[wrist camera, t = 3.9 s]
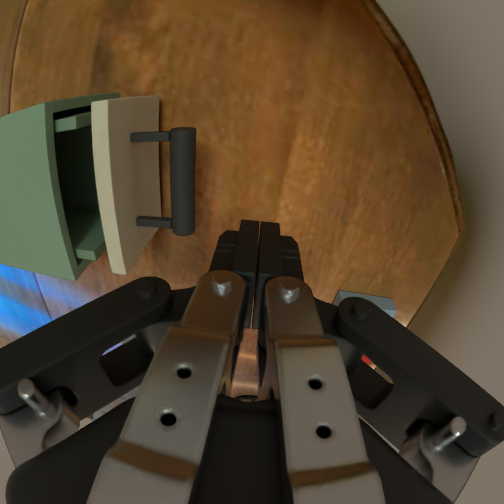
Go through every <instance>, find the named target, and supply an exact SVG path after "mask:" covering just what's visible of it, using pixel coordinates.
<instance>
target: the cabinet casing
mask: <svg viewBox="0 0 504 504" xmlns="http://www.w3.org/2000/svg"><path fill="white" fill-rule="evenodd" d="M116 98H120V93H108V94H97V95H88V96H80V97H73V98H66V99H60V100H55V101H49V102H44V103H41V104H38V105H34V106H31V107H28V108H25V109H22V110H19V111H17V112H14V113H11V114H8V115H6V116H3V117H1V118H0V264H3V265H7V266H11V267H15V268H19V269H23V270H27V271H31V272H35V273H40V274H44V275H48V276H53V277H57V278H62V279H67V280H71V281H76V280H77V279H78V278H79V276H80V274H82V272H83V271H84V270H85V269H86V268H87V266H88V265H89V264H90V263H91V262H92V260H88V259H81V258H75V255H74V251H73V248H72V244H71V240H70V236H69V232H68V227H67V223H66V218H65V213H64V209H63V203H62V198H61V192H60V186H59V179H58V172H57V164H56V155H55V145H54V130H53V118H55V117H60V116H65V115H70V114H75V113H81V112H87V111H91V103H92V102H95V101H101V100H107V99H116Z"/></svg>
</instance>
